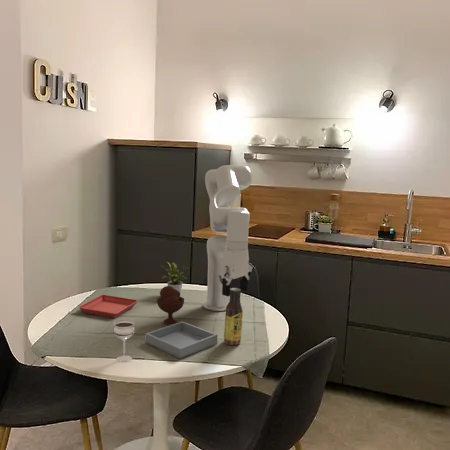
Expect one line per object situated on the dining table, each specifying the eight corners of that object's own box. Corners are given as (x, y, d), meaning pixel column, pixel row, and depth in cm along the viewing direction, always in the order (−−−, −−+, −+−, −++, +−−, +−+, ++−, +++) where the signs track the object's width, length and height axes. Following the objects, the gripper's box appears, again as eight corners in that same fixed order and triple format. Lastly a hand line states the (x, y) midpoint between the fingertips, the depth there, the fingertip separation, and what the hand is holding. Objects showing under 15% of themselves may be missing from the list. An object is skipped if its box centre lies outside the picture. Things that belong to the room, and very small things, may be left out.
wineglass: (138, 360, 158) (138, 325, 156) (118, 364, 154) (118, 329, 152) (129, 352, 164) (129, 318, 162) (110, 356, 160) (110, 322, 158)
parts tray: (182, 329, 185) (182, 321, 185) (217, 343, 174) (217, 334, 173) (145, 343, 172) (145, 333, 171) (180, 359, 160) (180, 349, 160)
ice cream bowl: (179, 328, 186) (180, 291, 184) (152, 325, 189) (152, 288, 186) (187, 319, 197) (188, 283, 194) (161, 316, 199) (161, 280, 196)
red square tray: (116, 321, 193) (116, 313, 192) (77, 314, 198) (77, 306, 198) (138, 307, 210) (138, 300, 209) (102, 301, 215) (102, 294, 215)
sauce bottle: (235, 347, 171) (237, 293, 168) (220, 343, 174) (222, 289, 171) (244, 341, 177) (247, 289, 173) (229, 337, 180) (232, 285, 177)
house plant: (150, 294, 227) (151, 260, 224) (174, 289, 236) (175, 256, 234) (169, 302, 217) (169, 266, 214) (193, 296, 226) (194, 262, 224)
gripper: (244, 241, 178) (242, 286, 181) (212, 246, 165) (210, 295, 168) (260, 244, 174) (258, 290, 176) (228, 250, 161) (227, 300, 163)
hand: (235, 292), depth 172 cm, fingers open, 9 cm apart
